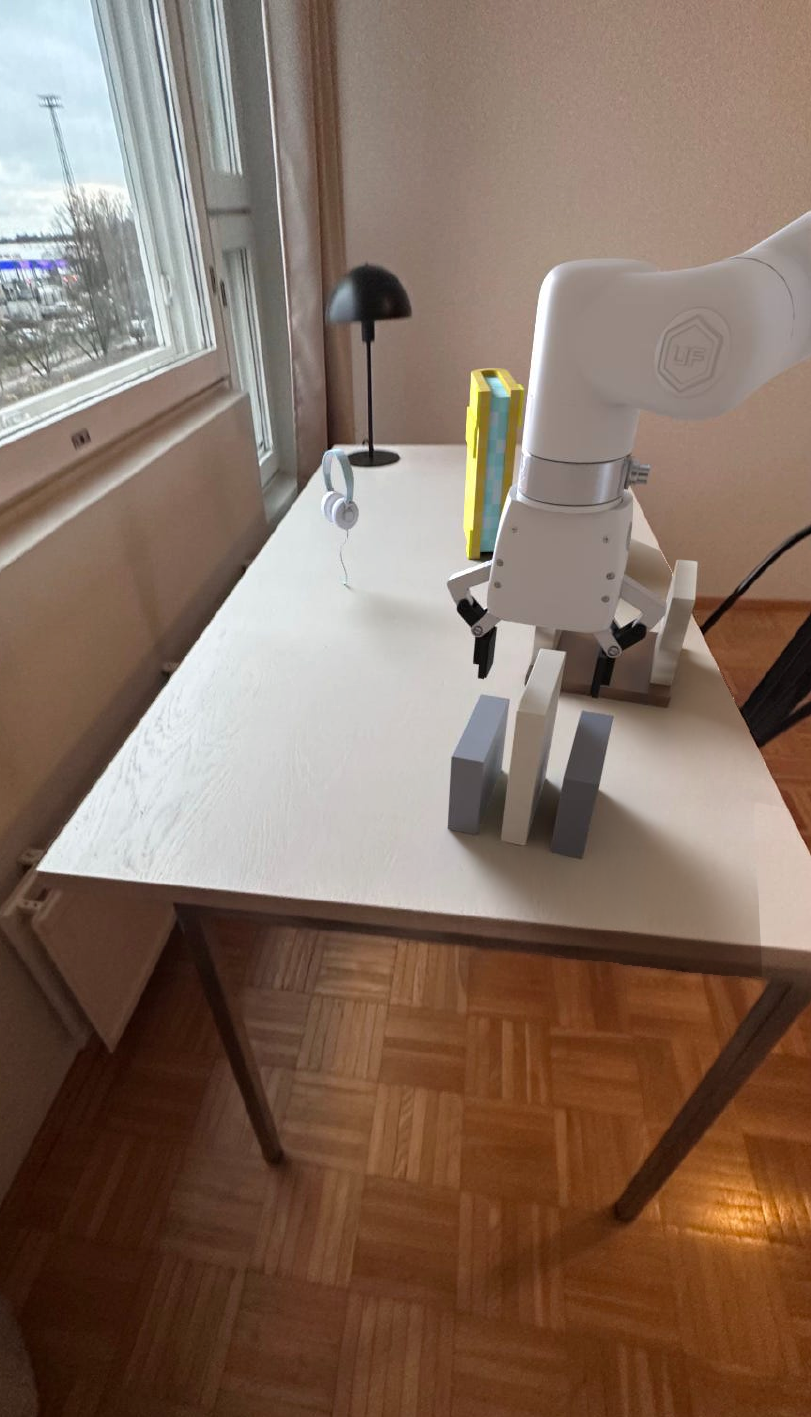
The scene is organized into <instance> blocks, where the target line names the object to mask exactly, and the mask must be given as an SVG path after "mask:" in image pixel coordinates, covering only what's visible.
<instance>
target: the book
mask: <svg viewBox="0 0 811 1417" xmlns="http://www.w3.org/2000/svg"><path fill="white" fill-rule="evenodd" d="M524 396H525V388H524V387H523V385H522V384H521V383H517V382H516V380H515V378H514V377H513V376H512V374H511V373H510V372H509V371H508V369H505V368H499V367H485V368H477V369H474V370H472V371H471V373H470V392H469V406H467V407H466V408H467V409H466V426H465V427H466V428H465V431H466V432H465V440H466V441H465V442H466V443H467V448H466V449H467V452H466V466H465V467H466V468H465V470H466V471H465V486H464V487H465V489H464V507H463V508H464V510H463V525H462V527H463V532H464V536H465V540H466V545H465V551H466V556H467V560H478V559H479V560H480V558H481V553H483V552H494V549H495V544H496V538H497V533H498V529H499V524H500V520H501V516H502V512H503V509H504V505H505V502H506V499H507V496H508V493H509V490H510V487H511V486H512V485H513V480H514V470H515V461H516V460H515V459H516V448H517V437H518V428H519V427H522V419H523V418H522V417H523V410H524V409H523V407H524V399H525V398H524Z"/></svg>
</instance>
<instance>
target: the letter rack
mask: <svg viewBox="0 0 811 1417" xmlns="http://www.w3.org/2000/svg"><path fill="white" fill-rule="evenodd" d="M698 567H699V561H696V560H686V559H676V561H675V565H674V570H673V574H672V577H671V581H670V584H669V589H668V593H667V597H666V600H665V602H666V603H667V608H666V614H665V616H664V617H663V618H662V619H661V620H660V624H659V628H658V632H657V631H656V632H655V631H651V630H650V631H649V632H648V633H647V634H646V636H645V638H644V639H642V640H641V641H639V642H637V643H636V644H634V645H632V646H631V647H629V648H627V649H625V650H624V651H622V652H621V654H620V655H619V656H618V657H616V660H615V664H614V668H613V672H612V677H611V681H610V685H609V686H605V685H601V686H600V690H599V694H598V698H602V699H608V700H616V701H620V702H621V701H622V702H628V703H634V704H642V705H648V706H652V707H653V706H655V707H659V708H660V707H661V708H666V709H667V708H668V707H669V704H670V702H671V697H672V688H673V680H674V677H675V674H676V669H677V667H678V663H679V659H680V656H681V652H682V649H683V646H684V642H685V638H686V634H687V631H688V627H689V624H690V621H691V617H692V614H693V610H694V607H695V603H696V598H697V597H696V596H697V585H698V584H697V582H698V569H699V568H698ZM600 646H601V645H600V644H599V642H598V641H597V639H596V638H595V636H594V635H593V633H583V632H575V631H568V630H561V629H554V628H547V627H540V626H534V636H533V644H532V651H531V659H530V664H529V665H528V669H527V671H526V673H525V678H524V686H526V685H527V683H528V680H529V677H530V675H531V672H532V670H533V667H534V664H535V662H536V659H537V657H538V654H539V651H540V649H548V650H555V651H562V652H566V658H565V664H564V670H563V676H562V682H561V688H560V692H563V693H564V692H566V693H571V694H576V695H577V694H578V695H583V696H589V695H590V690H591V685H592V681H593V676H594V672H595V667H596V662H597V658H598V654H599V650H600Z"/></svg>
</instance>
